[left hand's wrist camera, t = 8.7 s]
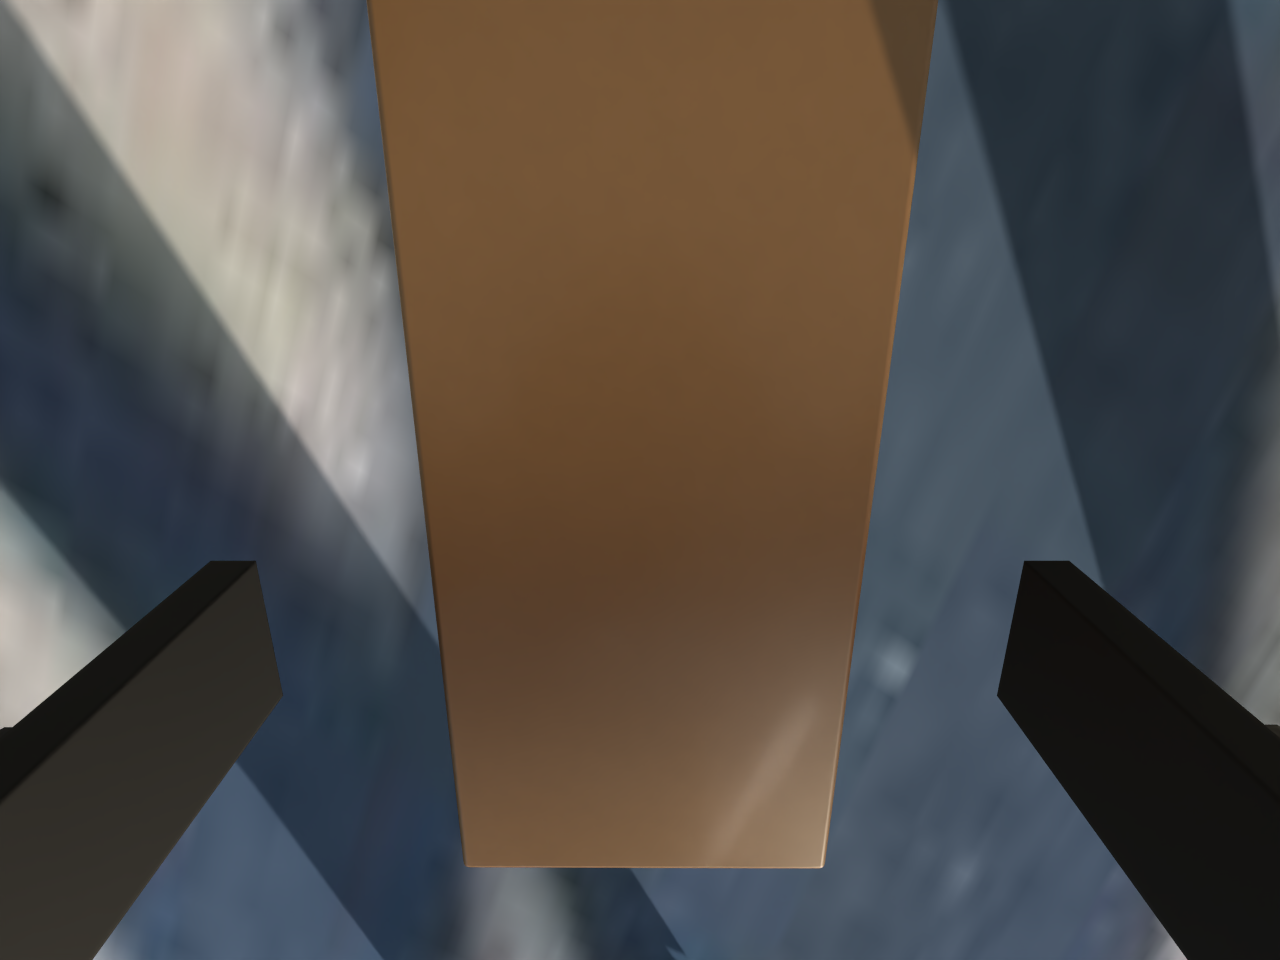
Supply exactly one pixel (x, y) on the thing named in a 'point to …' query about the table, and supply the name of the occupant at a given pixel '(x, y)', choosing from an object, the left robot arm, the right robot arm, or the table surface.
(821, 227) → the bar
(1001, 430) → the table surface
